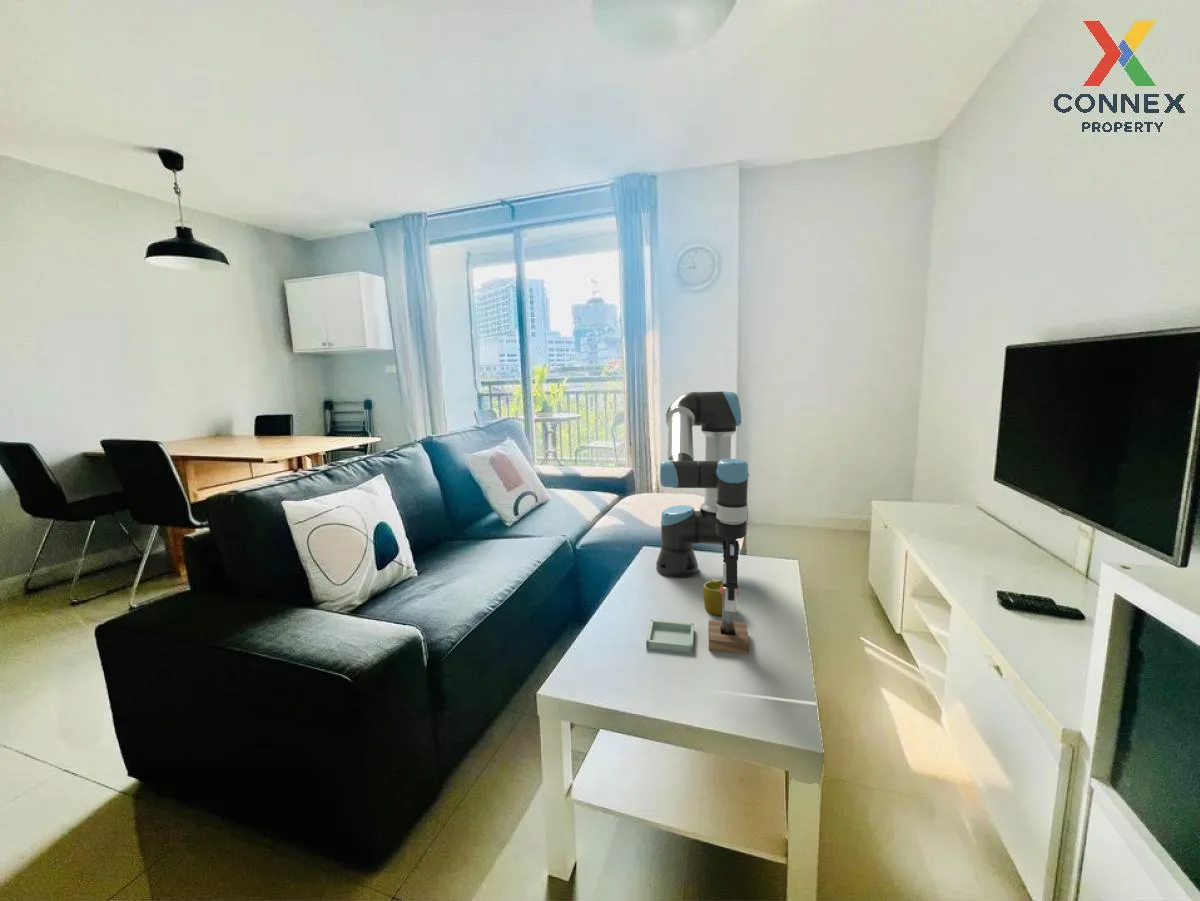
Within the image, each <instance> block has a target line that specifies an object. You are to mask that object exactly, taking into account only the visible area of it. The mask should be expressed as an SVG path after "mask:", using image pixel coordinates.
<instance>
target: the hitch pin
mask: <svg viewBox="0 0 1200 901" xmlns="http://www.w3.org/2000/svg"><path fill="white" fill-rule="evenodd" d="M723 584H726V583H723ZM723 584H721V585H720V593H721V594H722V595H723V604H722V616H721V621H722V634H723V635H733V636H734V624H735V622H736V621H735V618H736V612H730V611H725V587H723ZM739 587H740V586H738V588H737V596H739V594H740V588H739Z"/></svg>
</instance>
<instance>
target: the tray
mask: <svg viewBox="0 0 1200 901" xmlns="http://www.w3.org/2000/svg"><path fill="white" fill-rule="evenodd" d="M694 630H695V623H691V622H690V623H689V622H681V621H680V622H679V621H669V620H659V619H657V620H656V619H650V622H649V627H648V632H647V636H646V640H645V641H646V642H645V648H646V650H647V651H650V650H652V649H653V650H660V651H671V652H676V653H677V652H678V653H688V654H693V653H694V634H695V633H694V632H695V631H694Z"/></svg>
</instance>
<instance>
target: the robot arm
mask: <svg viewBox="0 0 1200 901" xmlns="http://www.w3.org/2000/svg"><path fill="white" fill-rule="evenodd" d="M665 424H666V426H667V427H668V436H667V437H668V438H667V439H668V440H667V442H668V443H667V460H661V462H660V465H659V467H660V469H659V471H660V472H659V483H660V485H661V486H662V487H664V488H673V489H704V502H703V503H701V505H700V507H699V510H695V508H694V507H693V506H692V505H688V504H687V505H683V504H681V505H674V506H673V505H672V506H670V507H666V508H665V509H664V510H663V511H662V512H661V516H660V517H661V518H660V519H661V520H660V530H661V531H660V532H661V533H660V550H659V553H658V557H657V559H656V563H655V564H656V565H655V566H656V571H657V572H658V573H659V574H661V575H662V576H666V577H668V578H677V579H679V578H680V579H682V578H690V577H692V576H695V575H697V573H698V572H699V563H698V560H697V558H696V554H695V550H694V545H697V544H698V545H699V544H700V545H717V546H718V545H719V546H722V551H723V555H722V557H723V560H722V562H723V566H722V567H723V568H722V581H723V583H726V584H723V587H725V611H730V612H735V613H737V603H738V602H737V599H738V598H737V597H738V595H737V588H738V587H739V585H738V560H739V550H740V544H739V540H738V539H743V538H745V537H746V536H747V522H746V521H747V519H748V485H749V483H748V482H749V476H750V475H749V465H748V464H749V463H748V462H747V461H745V460H743V459H739V458H732V455H731V454H732V435H733V434H735V433H736V431H737V427H740V426H741V424H742V413H741V404H740V400H739V396H738V395H737V393H736V392H733V391H724V390H722V391H691V392H686V393H683V394H682V395H680V396H679V397H677V398H676V399H675V400H673V402H671V404H670V405H669V407H668V408H667V411H666V412H665ZM696 426H697V427H700V426H701V430H700V431H701V432H702V433H703V435H704V436H705V458H704V459H705V460H694V457H695V456H694V439H693V438H694V437H693V428H694V427H696Z"/></svg>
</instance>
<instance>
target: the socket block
mask: <svg viewBox="0 0 1200 901" xmlns="http://www.w3.org/2000/svg"><path fill="white" fill-rule="evenodd" d="M707 631H708V632H707V633H708V635H707V636H708V651H709V652H710V651H711V652H721V653H729V654H738V655H748V656H749V655H750V639H749V634H748V626H747V623H746V622H740V621H739V622H738V621H735V624H734V636H733V635H723V634H722V620H715V619H708V629H707Z"/></svg>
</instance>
